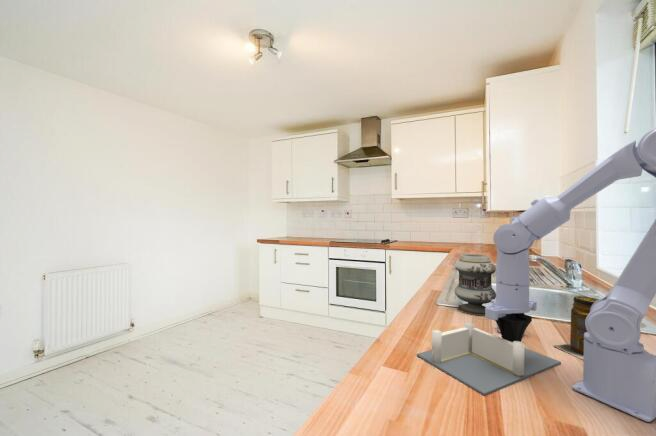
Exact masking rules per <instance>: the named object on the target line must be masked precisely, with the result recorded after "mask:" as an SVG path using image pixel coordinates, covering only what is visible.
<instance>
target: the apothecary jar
mask: <svg viewBox="0 0 656 436" xmlns="http://www.w3.org/2000/svg"><path fill="white" fill-rule="evenodd" d="M454 268H455V270H456V271H458V285H457V286H455V288H454V294H455V296H456V297H457V298H458V299H460V300H461V301H463V302H466V303H462V304H459V305H458V306H459V307H458V306H457V310H459V311H460V310H461V311H460V312H462V311H463V312H462V313H464V312H465V314H468V315H473V316H485V308H487V307H486V306H485V304H489V303H490V304H491V300H493V299H496V290H495V289H494V288H493V287H492V274H495V273H496V265H495V264H494V263H493V262H492V261H491V257H490V255H487V254H482V253H461V254H460V256H459V260H457V261H456V262H455V264H454ZM483 304H484V305H483Z"/></svg>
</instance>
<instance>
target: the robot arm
mask: <svg viewBox="0 0 656 436" xmlns="http://www.w3.org/2000/svg"><path fill="white" fill-rule="evenodd" d="M643 171H645V172H646V173H647V174H649V175H651V176H653V177H654V178H656V127H654V128H652V129H651V130H649V131H647V132H646V133H644V134H643V136H641V138H640V139H639V141H638V143H637V140H636V139H635V140H633V141H631V142H629V143H628V144H625V146H623V147H620V149H619V150H617V151H616V152H614V153H612V154H611V155H610V156H609V157H607V158H606V159H604V160H603V161H602V162H600V163H598V165H596V166H595V167H594V168H593V169H591V170H590V171H588V172H587V173H586V174H585V175H584V176H582V177H581V178H580V179H577V181H576V182H574V183H573V184H572V185H570V186H569V187H568V188H567V189H565V190H564V191H562V192H561V193H560V194H559V195H558V196H555V197H554V196H553V197H552V196H544V197H542V198H541V199H537V198H536V199H534V200H532V201H531V202H530V205H531V206H530V207H529V208H527V209H526V210H525V211H523V212H522V213H520V214H519V215H518V216H513V217H511V218H510V219H509V221H510V222H511V223H503V224H501V225H500V226H499V227H498V228H497V229H496V230H495V232H494V234H493V244H494V246H495V247H496V250H497V251H496V252H497V253H496V265H495V267H496V271H495V274H496V275H495V277H496V278H495V281H496V282H495V284H496V286H495V287H496V289H495V292H496V298H495V299H493V300H491V302H490V304H491V305H489V306H488V307H487V308H485V315H484V318H486V319H489V320H492V321H495V322H496V326H497V325H498V327H499V329H500V332H501V333H500V332H499V333H500V335H501V338H503V339H505V340H508V341H510V342H513V341H520V342H522V341H523V338H524V335H523V334H525V332H526V330H527V328H528V327H529V325H530V324H531V322H532V321H533V320H532V319H533V317H532V316H531V315H528V314H526V313H530V312H531V311H533V312H535V311H537V308H538V307H537V306H538V305H537V300H534V299H533V300H532V299H530V267H531V266H530V248H531V247H532V246H533V244H534V241H540V240H541V239H542V238H544V237H546V236H548V234H550V233H552V232H553V231H554V230H557V228H559V227H561V226H562V225H564V224H566V223H567V222H569V221H570V219H571V211H572V209H575V207H578V206H579V205H580V204H582V203H583V202H585V201H587V200H588V199H590V198H591V197H593V196H595V195H596V194H598V193H600V192H601V191H602V190H604V189H605V188H608V187H609V186H611V185H612V184H613V183H615V182H617V181H619V180H625V179H631V178H636V177H642V172H643ZM655 297H656V219H655V220H654V221H653V223H652V225H650V227H649V229H648V231H647V232H646V234H645V235H644V237H643V239H642V240H641V242H640V243H639V245H638V247H637V248H636V250H635V251H634V253H633V255H632V256H631V258H630V259H629V261H628V262H627V264H626V266H625V267H624V268H623V270H622V272H621V274H620V275H619V276H618V278H617V280H616V281H615V283H614V284H613V286H611V288H610V289H609V292H608V293H607V294H606V295H605V296H604V297H602V298H600V299H599V300H598V301H596V302H595V303H594V304H593V305H592V306H591V308H590V313H589V314H588V316H587V317H586V320H585V326H586V330H587V332H586V333H584V360H583V371H582V372H583V374H582V375H583V376H582V380H581V381H579V382H577V383H575V384H573V385H572V386H571V388H572V389H573V390H574V391H576V392H578V393H580V394H583V395H586V396H588V397H590V398H591V399H595V400H597V401H599V402H601V403H604V404H606V405H608V406H610V407H613V408H616V409H618V410H619V411H622V412H624V413H626V414H629V415H631V416H633V417H634V418H638V419H639V420H643V421H645V422H648V423H650V422H652V421H654V419H656V355H654V354H653V353H651V352H649V351H647V350H645V346H644V343H641V342H640V341H641V340H640V339H641V336H642V332H641V323H642V321H643V319H644V318H645V316H646V315H647V312H648V310H649V308H650V306H651V303H652V301H653V299H654V298H655Z"/></svg>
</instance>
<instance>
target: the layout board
mask: <svg viewBox="0 0 656 436" xmlns="http://www.w3.org/2000/svg"><path fill="white" fill-rule="evenodd" d="M416 356H417V357H418V358H419V359H421V360H423V361H425V362H426V363H428V364H430V365H431V366H433V367H435V368H436V369H438V370H440V371H441V372H444V373H445V374H446V375H448V376H450V377H451V378H454V379H455V380H457V381H459V382H460V383H461V384H463V385H465V386H467V387H469V388H470V389H472V390H473V391H476V392H477V393H478V394H480V395H482V396H487V395H490V394H493V393H494V392H497V391H499V390H502V389H504V388H507V387H508V386H511V385H514V384H516V383H519V382H520V381H523V380H525V379H528V378H530V377H533V376H535V375H538V374H540V373H542V372H544V371H548V370H549V369H552V368H554V367H556V366H559V365H561V364H562V362H561V361H559V360H557V359H555V358H552V357H550V356H547V355H544V354H542V353H539V352H536V351H533V350H531V349H528V348H526V347H525V349H524V375H517V374H515V373H513V372H512V371H510V370H508V369H506V368H504V367H502V366H500V365H498V364H496V363H493V362H491V361H489V360H487V359H485V358H483V357H481V356H479V355H477V354H475V353H471V352H468V353H466V354H462V355H459V356H456V357H452V358H449V359H446V360H442V361H441V363H435V362H433V361H432V349H429V350H427V351H422V352H419V353H416Z"/></svg>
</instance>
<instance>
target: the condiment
mask: <svg viewBox="0 0 656 436" xmlns="http://www.w3.org/2000/svg"><path fill="white" fill-rule="evenodd" d="M598 300H600V299H599V298H595V297H589V296H583V295H582V296H578V295H577V296H574V297H573V304H572V308H571V309H570V334H569V335H570V342H569V344H566V343H563V344H555V345H552V346H553V347H555V348H557V349H559V350H560V351H562V352H565V353H568V354H569V355H571V356H573V357H576V358H578V359H580V360H583V361H584V333H586V332H587V330H586V326H585V320H586V317H587V316H588V314H589V313H590V308H591V306H592V305H593V304H594V303H595V302H596V301H598Z"/></svg>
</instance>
